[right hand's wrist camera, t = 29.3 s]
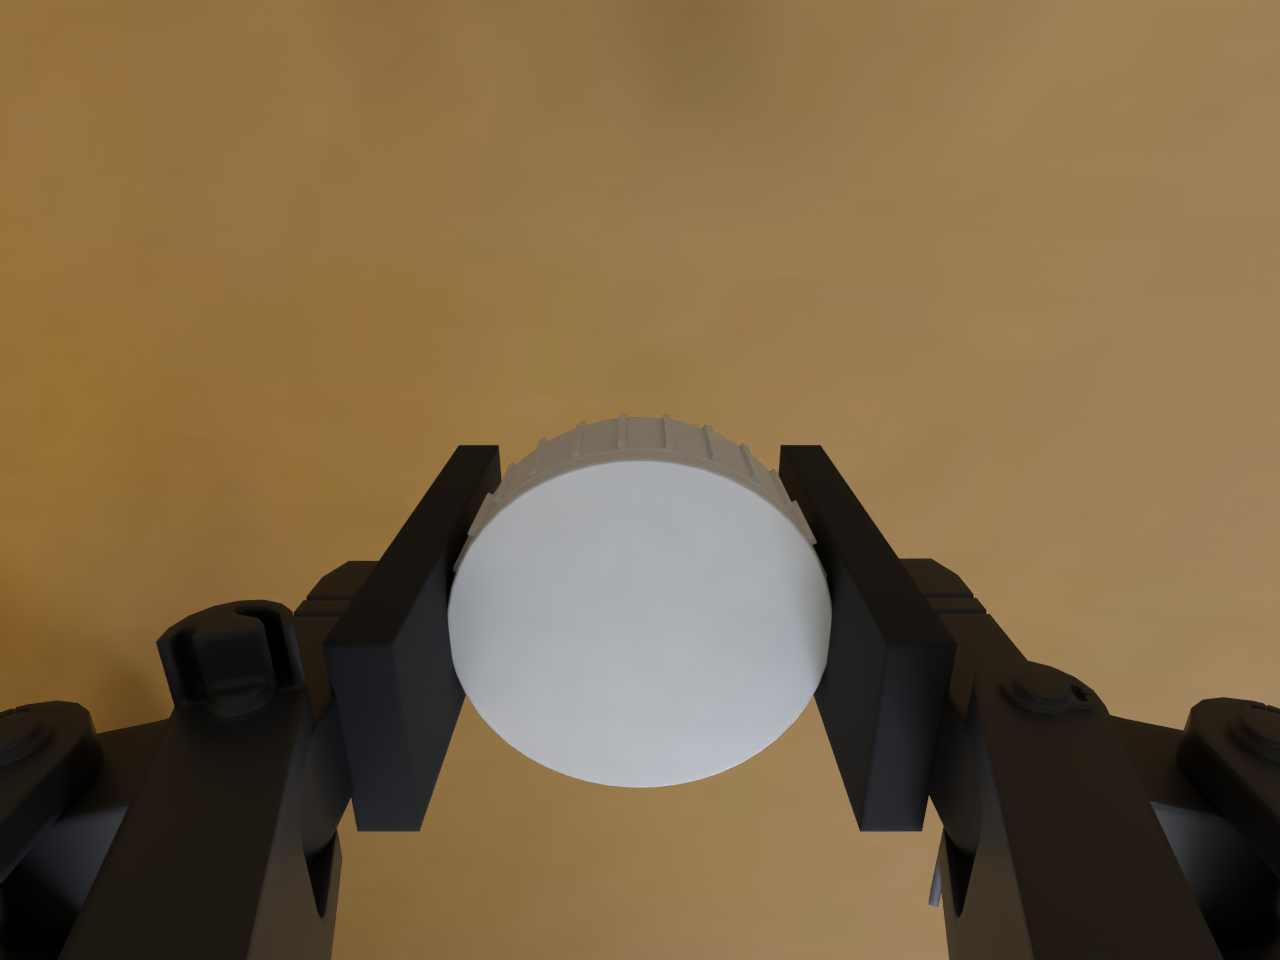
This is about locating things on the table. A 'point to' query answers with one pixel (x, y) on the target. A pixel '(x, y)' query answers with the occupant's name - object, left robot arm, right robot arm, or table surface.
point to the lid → (639, 604)
